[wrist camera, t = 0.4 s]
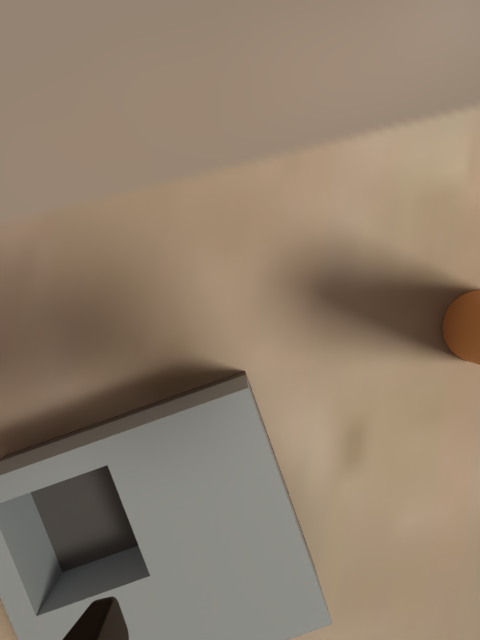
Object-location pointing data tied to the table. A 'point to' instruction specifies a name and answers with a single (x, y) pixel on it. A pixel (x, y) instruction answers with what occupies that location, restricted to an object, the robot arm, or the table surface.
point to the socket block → (159, 526)
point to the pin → (464, 326)
